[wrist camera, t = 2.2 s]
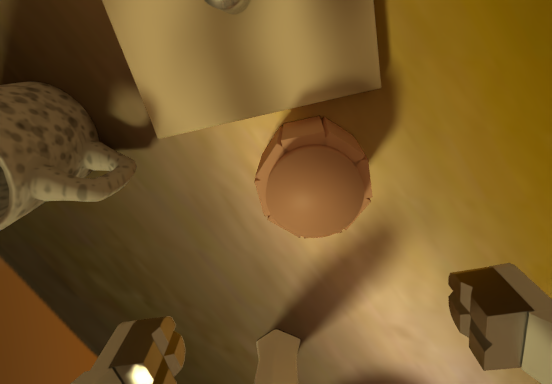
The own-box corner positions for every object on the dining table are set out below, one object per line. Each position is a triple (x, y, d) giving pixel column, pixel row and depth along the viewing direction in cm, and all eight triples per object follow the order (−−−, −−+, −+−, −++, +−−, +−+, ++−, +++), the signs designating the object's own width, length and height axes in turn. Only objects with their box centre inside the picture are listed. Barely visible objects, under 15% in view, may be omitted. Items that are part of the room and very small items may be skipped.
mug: (3, 167, 21) (-110, 216, 15) (-11, 67, 19) (-157, 79, 13) (147, 204, 22) (91, 264, 16) (154, 112, 19) (90, 144, 13)
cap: (351, 108, 18) (367, 127, 14) (363, 197, 21) (379, 235, 17) (253, 130, 19) (242, 153, 15) (276, 213, 22) (271, 252, 18)
